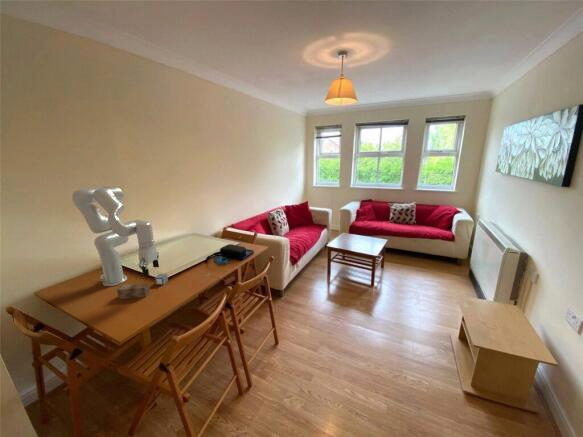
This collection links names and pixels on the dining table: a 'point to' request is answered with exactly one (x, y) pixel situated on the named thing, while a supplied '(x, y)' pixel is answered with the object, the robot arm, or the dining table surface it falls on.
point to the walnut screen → (133, 291)
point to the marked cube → (161, 279)
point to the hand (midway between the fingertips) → (151, 271)
